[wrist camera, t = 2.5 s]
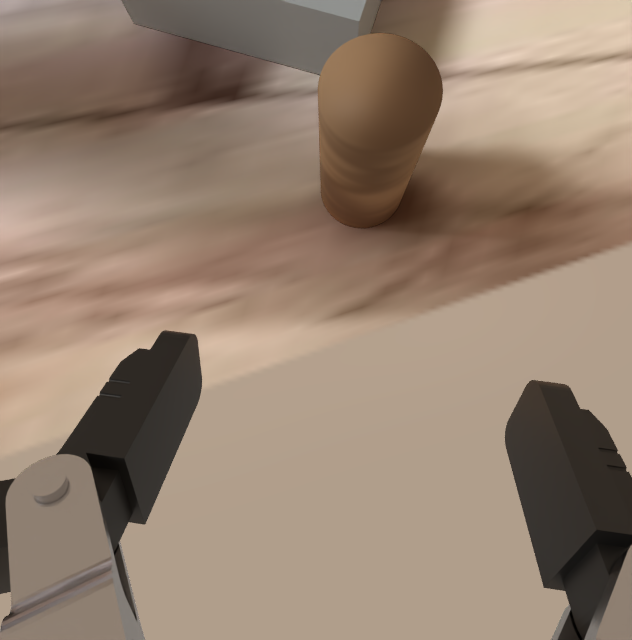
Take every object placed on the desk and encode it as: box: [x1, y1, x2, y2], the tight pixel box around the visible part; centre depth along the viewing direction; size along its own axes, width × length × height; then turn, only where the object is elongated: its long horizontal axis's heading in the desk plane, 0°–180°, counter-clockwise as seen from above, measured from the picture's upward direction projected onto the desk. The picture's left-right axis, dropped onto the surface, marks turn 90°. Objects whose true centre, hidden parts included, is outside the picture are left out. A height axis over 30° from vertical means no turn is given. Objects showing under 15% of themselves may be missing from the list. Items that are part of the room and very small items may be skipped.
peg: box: [318, 33, 443, 228], centre depth 23 cm, size 5×5×10 cm
